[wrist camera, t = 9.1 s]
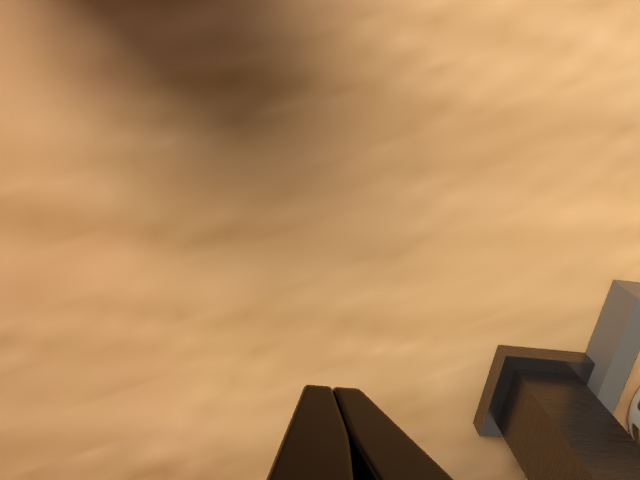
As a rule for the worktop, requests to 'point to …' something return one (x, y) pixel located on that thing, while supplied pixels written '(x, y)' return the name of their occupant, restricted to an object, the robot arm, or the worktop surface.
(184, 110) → the worktop surface
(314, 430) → the robot arm
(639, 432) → the supplement bottle
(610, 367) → the collar
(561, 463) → the clip post
